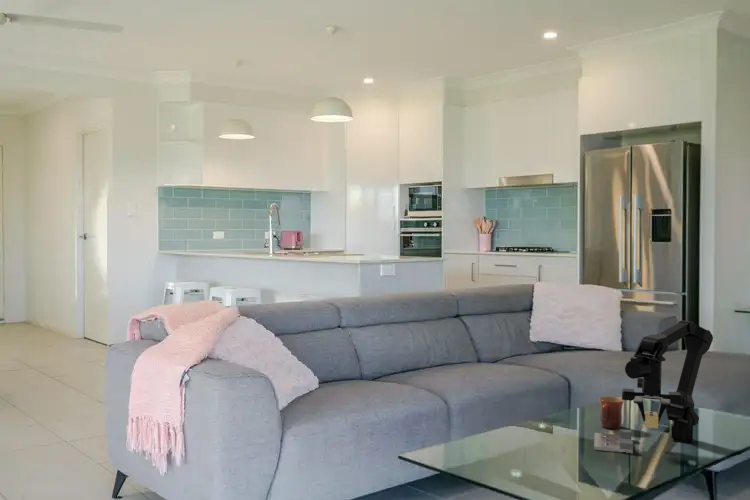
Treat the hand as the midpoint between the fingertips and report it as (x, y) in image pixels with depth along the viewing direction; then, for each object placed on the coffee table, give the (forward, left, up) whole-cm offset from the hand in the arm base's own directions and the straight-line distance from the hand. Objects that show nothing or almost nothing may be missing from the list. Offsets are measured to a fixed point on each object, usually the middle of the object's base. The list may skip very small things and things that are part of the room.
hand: (651, 421), depth 244 cm
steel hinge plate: (+12, 0, -9) cm, 15 cm away
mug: (+13, -20, -9) cm, 26 cm away
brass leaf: (0, 0, -1) cm, 1 cm away
